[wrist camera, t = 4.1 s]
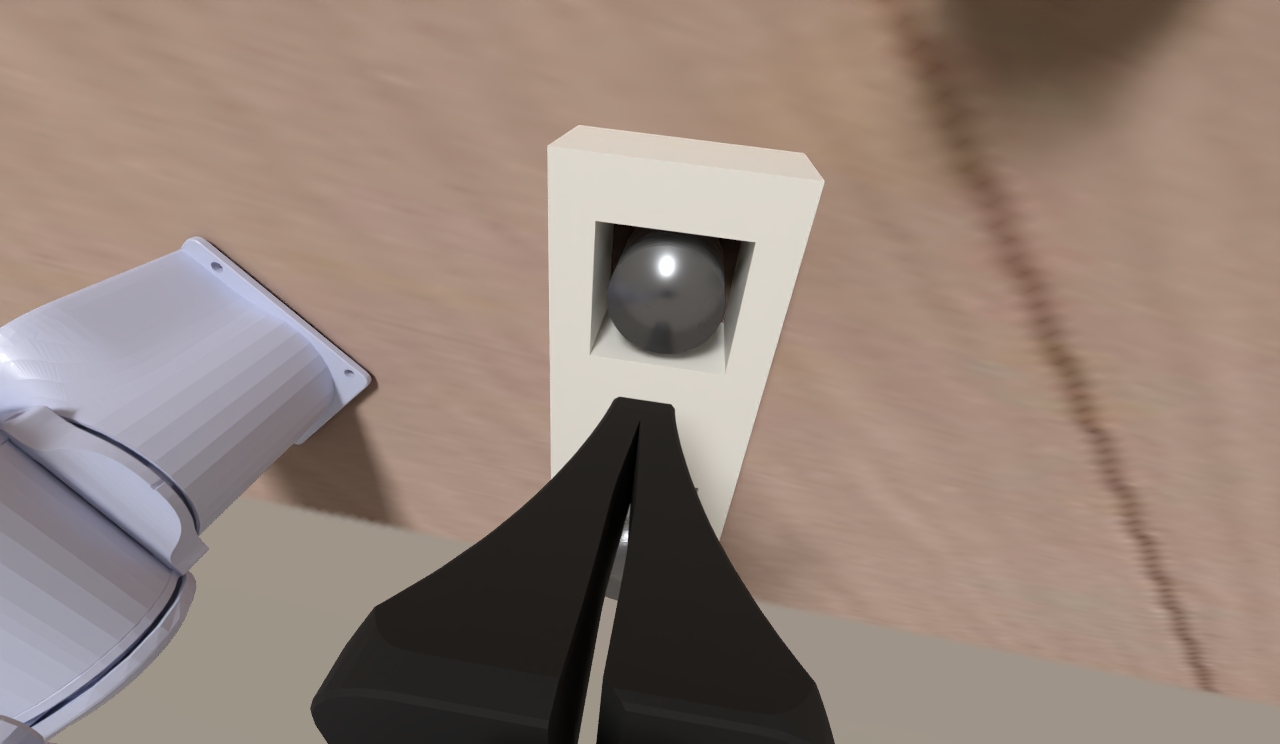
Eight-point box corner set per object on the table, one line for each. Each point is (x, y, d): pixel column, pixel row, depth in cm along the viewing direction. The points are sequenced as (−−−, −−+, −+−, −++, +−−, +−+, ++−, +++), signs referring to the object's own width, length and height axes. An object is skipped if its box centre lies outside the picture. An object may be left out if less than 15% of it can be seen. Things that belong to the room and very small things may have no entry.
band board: (578, 124, 18) (547, 145, 15) (804, 153, 17) (824, 181, 14) (570, 501, 29) (552, 561, 26) (707, 523, 29) (705, 587, 26)
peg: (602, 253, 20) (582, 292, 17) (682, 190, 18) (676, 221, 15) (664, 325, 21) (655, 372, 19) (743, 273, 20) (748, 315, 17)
